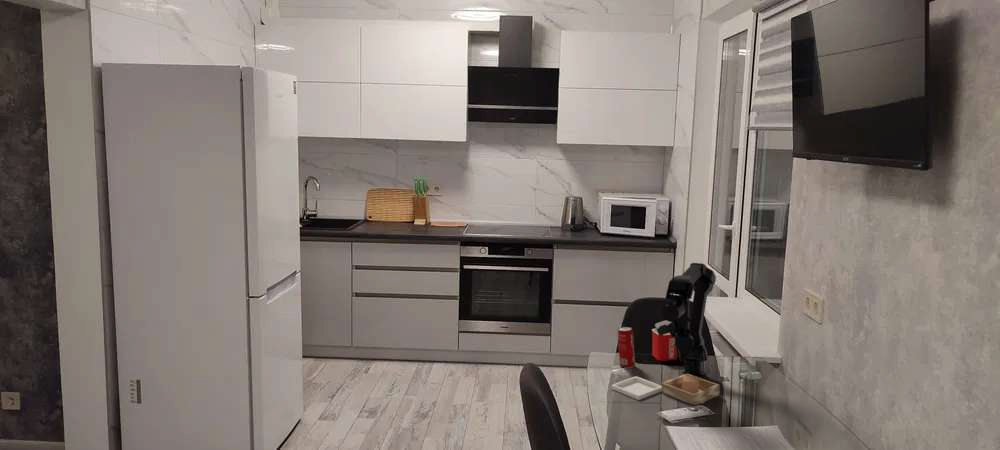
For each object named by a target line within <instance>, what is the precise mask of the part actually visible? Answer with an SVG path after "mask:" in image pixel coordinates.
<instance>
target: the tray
mask: <svg viewBox="0 0 1000 450" xmlns="http://www.w3.org/2000/svg"><path fill="white" fill-rule="evenodd" d="M610 389H611V390H613V391H615V392H617V393H620V394H622V395H625V396H627V397H630V398H632V399H635V400H637V401H640V400H643V399H645V398H647V397H651V396H653V395H655V394H658V393H661V385H660V384H658V383H655V382H653V381H649V380H647V379H645V378H641V377H639V376H637V375H635V376H633V377H630V378H627V379H624V380H620V381H618V382H616V383H614V384H611V387H610Z"/></svg>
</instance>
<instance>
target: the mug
mask: <svg viewBox="0 0 1000 450" xmlns="http://www.w3.org/2000/svg"><path fill="white" fill-rule="evenodd" d="M651 332H652V355H651V356H652V357H654V359H656V360H657V361H659V362H667V361H676V360H677V357H678V352H677V350H676V347H675V345H674V337H673V336H672V335H671V334H670V333H666V334H664V335H662V336H659V334H658V332H657V329H656V328H652V329H651Z"/></svg>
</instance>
